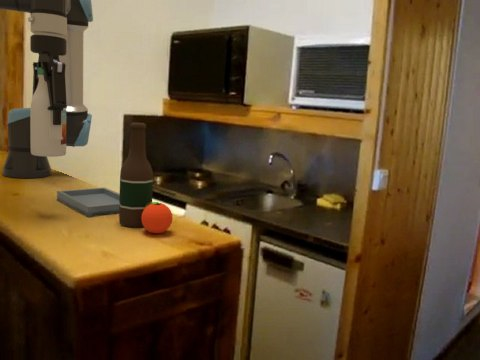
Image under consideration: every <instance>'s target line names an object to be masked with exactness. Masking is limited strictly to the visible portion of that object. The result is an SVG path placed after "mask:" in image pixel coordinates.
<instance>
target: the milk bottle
mask: <svg viewBox="0 0 480 360" xmlns="http://www.w3.org/2000/svg"><path fill="white" fill-rule="evenodd" d="M40 74H43V69H42V68H41V67H39V68H38V77H39V82H38V86H37V88H36V91H35V93H34V95H33V94H32V96H33V97H31V102H30V108H31V112H30V139H31V154H32V155H36V156H45V157H47V158H49V157H50V158H52V157H63V156H66V154H67V146H66V108H63V111H62V140H50V139H49V110H48V109H47V108H48V107H49V106H50V101H49V94H48V87H47V82H46V81H45V80H44V75H40Z"/></svg>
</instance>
